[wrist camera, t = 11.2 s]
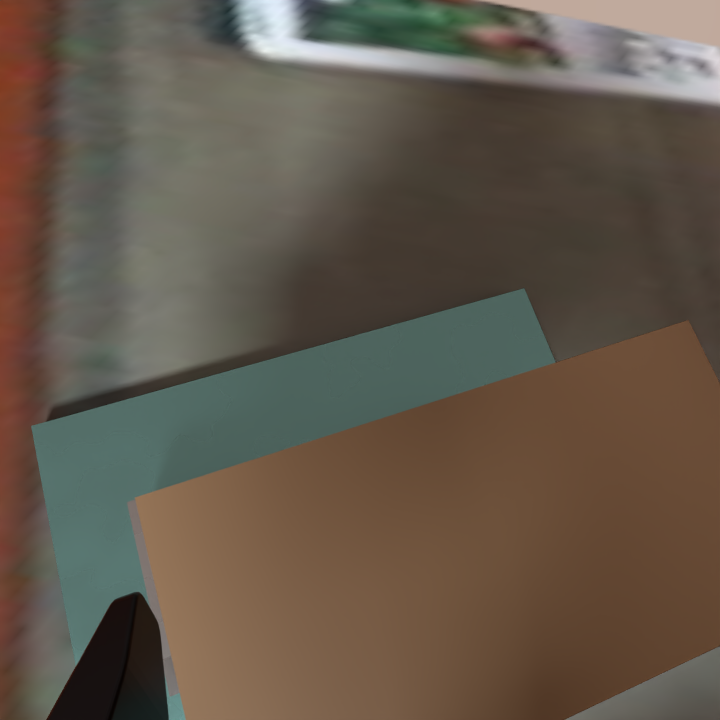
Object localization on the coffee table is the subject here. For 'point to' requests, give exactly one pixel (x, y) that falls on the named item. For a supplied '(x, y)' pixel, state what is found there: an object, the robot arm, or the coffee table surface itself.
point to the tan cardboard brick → (457, 551)
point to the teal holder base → (248, 436)
